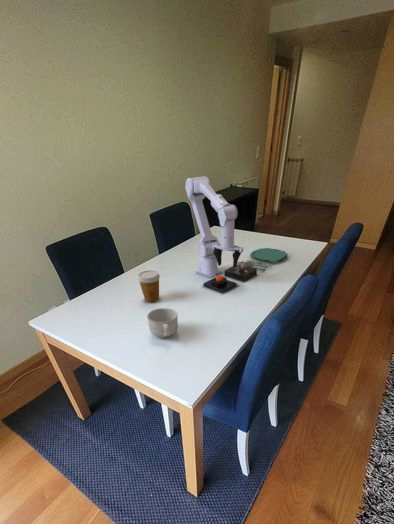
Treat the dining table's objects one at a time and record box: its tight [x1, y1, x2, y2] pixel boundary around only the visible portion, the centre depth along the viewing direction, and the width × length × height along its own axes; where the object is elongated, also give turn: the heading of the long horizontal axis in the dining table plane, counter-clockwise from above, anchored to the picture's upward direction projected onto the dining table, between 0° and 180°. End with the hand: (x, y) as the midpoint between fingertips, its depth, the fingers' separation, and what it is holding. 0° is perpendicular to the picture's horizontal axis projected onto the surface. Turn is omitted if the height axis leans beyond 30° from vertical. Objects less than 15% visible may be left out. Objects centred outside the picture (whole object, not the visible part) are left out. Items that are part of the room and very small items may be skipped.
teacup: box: [146, 307, 179, 338], centre depth 105 cm, size 14×11×8 cm
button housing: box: [202, 276, 237, 294], centre depth 137 cm, size 12×10×4 cm
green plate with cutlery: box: [244, 247, 288, 272], centre depth 161 cm, size 20×30×2 cm, turn 141°
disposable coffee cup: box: [136, 269, 161, 304], centre depth 127 cm, size 10×10×12 cm
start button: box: [215, 274, 225, 281], centre depth 136 cm, size 4×4×2 cm
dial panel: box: [223, 265, 258, 283], centre depth 146 cm, size 12×11×3 cm
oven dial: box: [237, 260, 246, 271], centre depth 144 cm, size 4×4×4 cm
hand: (227, 266), depth 136 cm, fingers open, 7 cm apart
